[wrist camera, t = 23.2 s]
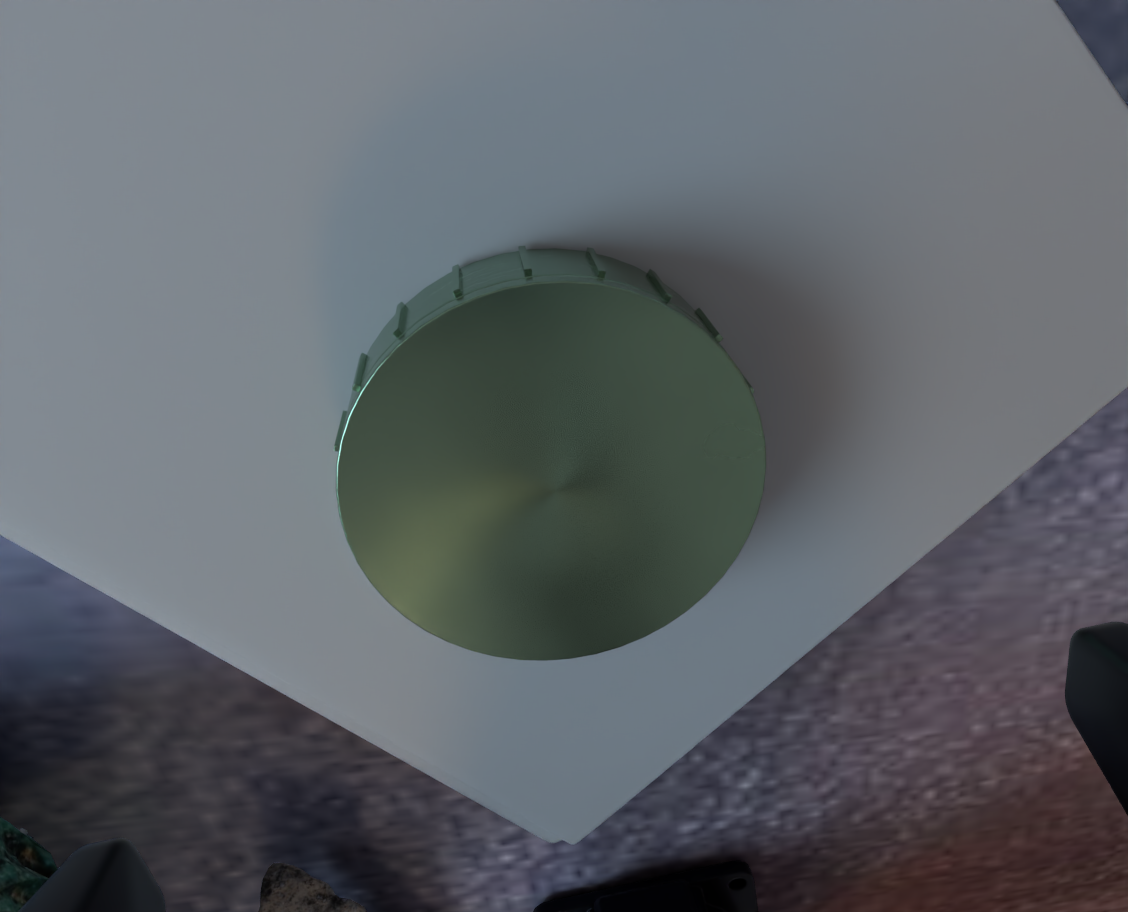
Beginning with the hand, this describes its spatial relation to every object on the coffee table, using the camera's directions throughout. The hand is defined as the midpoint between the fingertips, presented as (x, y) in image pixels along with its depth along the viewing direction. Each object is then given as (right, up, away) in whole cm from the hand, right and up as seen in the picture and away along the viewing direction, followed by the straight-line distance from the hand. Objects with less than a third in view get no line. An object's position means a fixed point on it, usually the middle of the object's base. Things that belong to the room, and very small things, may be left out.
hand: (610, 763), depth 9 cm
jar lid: (-1, +2, +6) cm, 6 cm away
